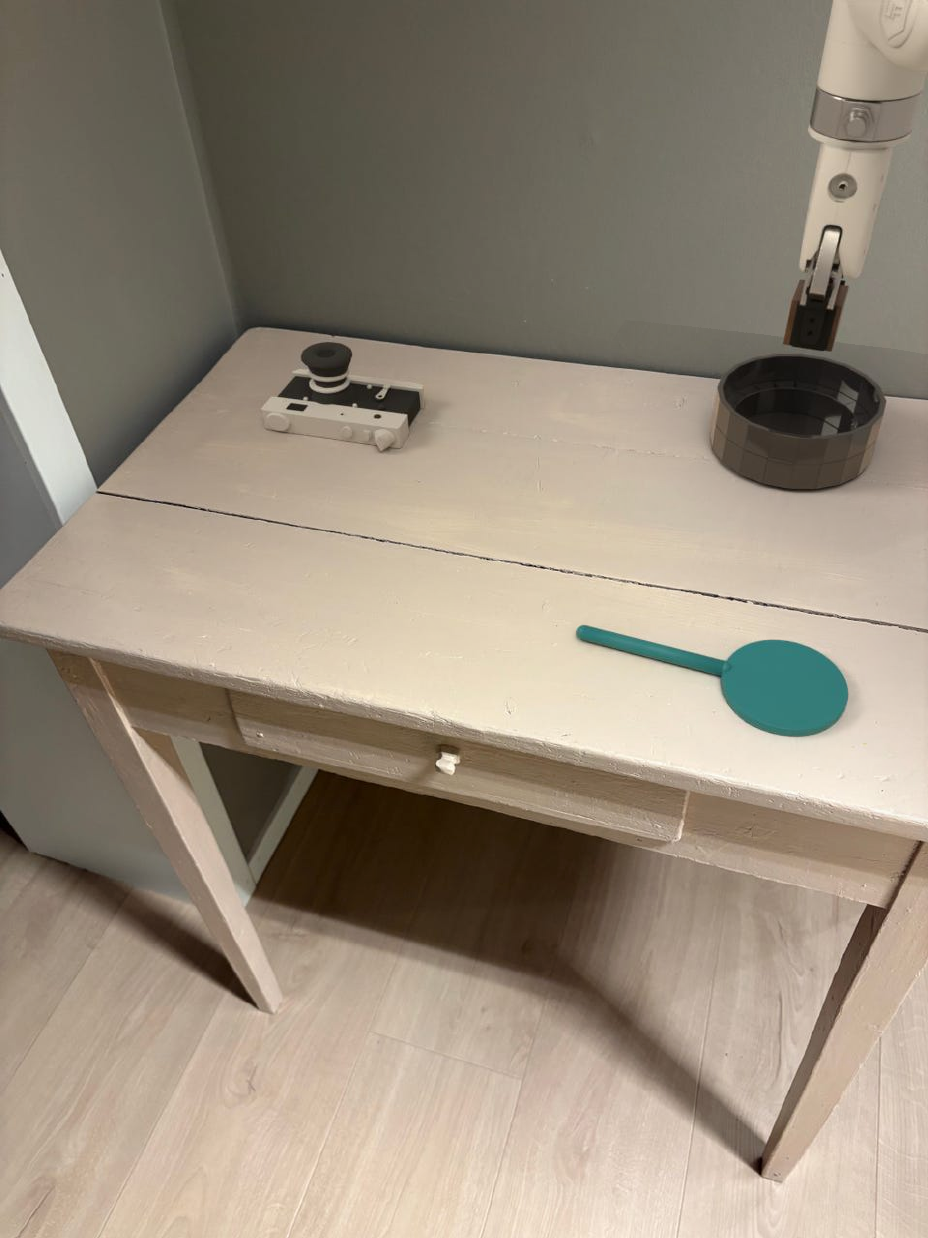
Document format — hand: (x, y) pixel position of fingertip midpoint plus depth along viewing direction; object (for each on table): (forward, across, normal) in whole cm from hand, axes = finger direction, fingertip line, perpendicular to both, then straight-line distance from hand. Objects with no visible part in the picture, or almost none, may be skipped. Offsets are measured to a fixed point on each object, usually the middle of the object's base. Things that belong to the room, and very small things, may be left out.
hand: (812, 332), depth 86 cm
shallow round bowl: (+12, 0, 0) cm, 12 cm away
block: (+1, 0, 0) cm, 1 cm away
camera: (+12, -10, +44) cm, 47 cm away
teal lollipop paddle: (+12, -32, +1) cm, 34 cm away
